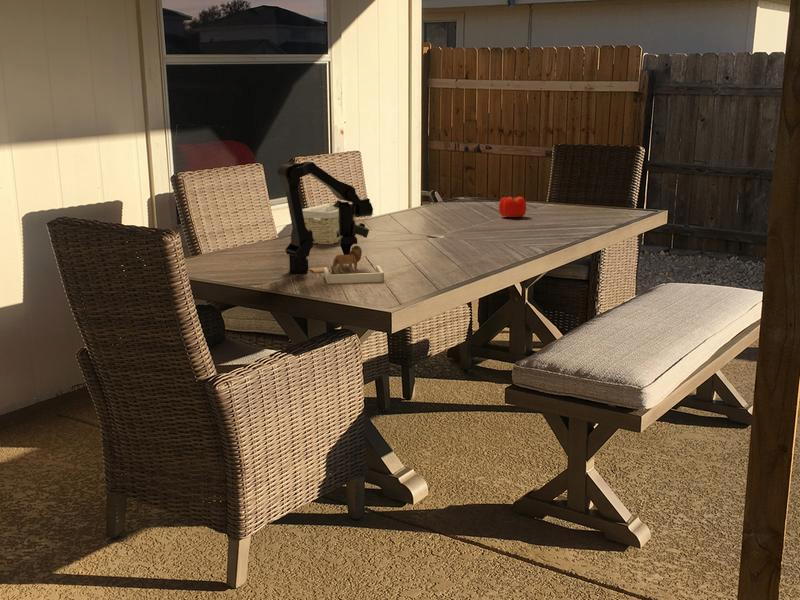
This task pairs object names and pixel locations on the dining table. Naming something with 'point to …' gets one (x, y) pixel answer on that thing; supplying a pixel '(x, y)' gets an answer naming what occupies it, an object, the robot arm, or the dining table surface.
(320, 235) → the storage basket
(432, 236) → the dining table surface
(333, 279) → the frame
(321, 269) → the terracotta tile
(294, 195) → the robot arm
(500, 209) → the tomato
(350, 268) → the lion figurine
